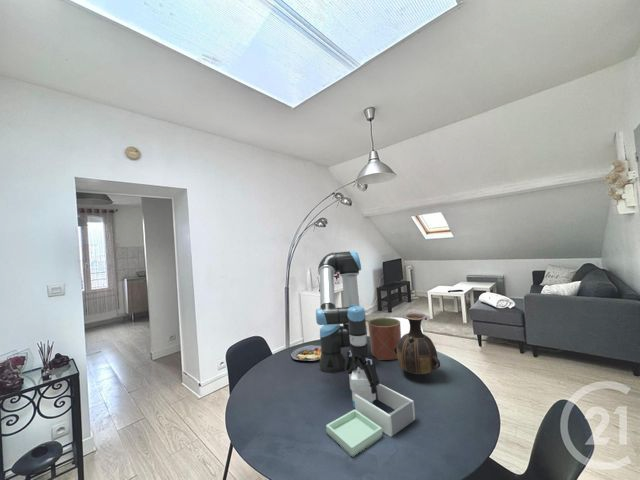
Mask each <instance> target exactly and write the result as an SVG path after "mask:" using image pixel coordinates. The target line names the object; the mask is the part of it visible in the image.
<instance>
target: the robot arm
mask: <svg viewBox="0 0 640 480" xmlns="http://www.w3.org/2000/svg"><path fill="white" fill-rule="evenodd" d="M361 270H362V265H361V259H360V256H359V253H358V252H357V251H355V250H354V251H351V250H350V251H340V252H330V253H328V254H326V255H324V257H323V258H322V259H321V260H320V261H319V264H318V269H317V272H318V275H319V289H320V290H319V294H320V295H319V300H320V302H319V303H320V304H319V305H320V307H319V308H316V310H315V321H316V323H317V325H318V326H321V327H320V328H319V338H320V339H319V340H320V345H321V357H320V359H319V361H318V368H319V370H320V371H322V372H325V373H338V372H341V371H343V370H344V371H345V372H347V374H348V380H349V389H350V390H351V391H352V386H351V376H352V370H356V367H357V366H358V367H359V368H360V369H361V370H364V372H365V374H366V376H367V379H368V381H369V383H370V385H369V394H370V401H371V402H372V401H373V402H374V401H376V400H377V395H376V394H377V385H379V384H381V383H380V380H379V377H378V374H377V370H376V368H375V365H374V359H373V358H369V357H368V353H369V347H368V346H369V345H368V331H367V330H368V328H367V327H368V325H367V324H366V322H367V321H366V316H367V315H366V311H365V307H363V306H360V300H359V299H360V297H359V288H358V275H359V274H360V271H361ZM336 273H338V275H339V276H340V277H341V278H342V279H341V280H342V288H343V289H342V292H343V304H344V305H343V306H341V307H336V295H335V280H334V275H335V274H336ZM343 348H349V351H347V352H346V353H347V354H346V355H347V356H346V359H345V357H344V354H343V351H342V349H343Z"/></svg>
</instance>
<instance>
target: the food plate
mask: <svg viewBox="0 0 640 480" xmlns="http://www.w3.org/2000/svg"><path fill="white" fill-rule="evenodd" d="M303 351H304V352H303ZM300 352H301V353H300ZM299 353H300V354H299ZM304 354H305V355H304ZM290 355H291V357H292V359H293V360H296V361H297V360H298V361H306V362H307V361H308V362H309V361H310V362H311V361H313V362H315V361H320V357H321V344H319V345H318V344H311V345H305V346H301V347H299V348H296V349H294V350H293V352H291V354H290Z"/></svg>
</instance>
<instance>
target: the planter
mask: <svg viewBox="0 0 640 480" xmlns="http://www.w3.org/2000/svg"><path fill="white" fill-rule="evenodd" d="M367 324H368V325H367V327H368V336H369V344H370V352H371V356H373V357H374V358H376V360H378V361H387V360H388V361H391V360H398V359H397V355H396V353H395V351H394V349H395V347H396V346H398V343H399V341H400V339H401V338H402V331H401V321H400V320H399V319H396V318H391V317H377V318H372V319H370V320H368V322H367ZM396 350H397V348H396Z"/></svg>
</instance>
